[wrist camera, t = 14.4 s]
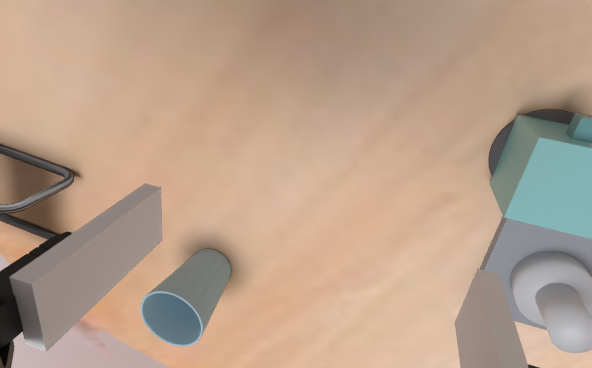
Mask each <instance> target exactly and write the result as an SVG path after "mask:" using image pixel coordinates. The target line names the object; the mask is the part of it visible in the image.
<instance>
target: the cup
mask: <svg viewBox="0 0 592 368" xmlns="http://www.w3.org/2000/svg"><path fill="white" fill-rule="evenodd" d="M230 276H231V266H230V263H229V261H228V260H227V259H226V257H225V256H224V255H223V254H221V253H220V252H218V251H216V250H213V249H203V250H200V251H198V252H197V253H196V254H195V255H193V256H192V257H191V258H190V259H189V260H187V261H186V262H185V263H184V264H183V265H182V266H180V267H179V268H178V269H177V270H176V271H175V272H173V273H172V274H171V275H170V276H169V277H168V278H166V279H165V280H164V281H163V282H162V283H160V284H159V285H158V286H157V287H156V288H154V289H153V290H152V291H151V292H150V293H148V294H147V295H146V296H145V297H144V299H143V300H142V303H141V315H142V318H143V321H144V322H145V324H146V326H147V327H148V328H149V330H150V331H151V332H152V333H153V334H154V335H156V336H157V337H158V338H160V339H161V340H163V341H165V342H167V343H169V344H172V345H176V346H190V345H193V344H195V343H196V342H198V341H199V339H200V338H201V336H202V334H203V332H204V330H205V328H206V326H207V324H208V322H209V320H210V317H211V315H212V313H213V311H214V309H215V307H216V305H217V303H218V301H219V299H220V297H221V295H222V293H223V291H224V289H225V287H226V284H227V282H228V280H229V278H230Z"/></svg>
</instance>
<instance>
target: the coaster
mask: <svg viewBox="0 0 592 368" xmlns="http://www.w3.org/2000/svg"><path fill="white" fill-rule="evenodd" d="M523 116H528V117H533V118H538V119H543V120H548V121H553V122H558V123H563V124H568V125H570V123H571V121H572V118H573V116H574V114H573V113H570V112H567V111H563V110H556V109H547V110H539V111H534V112H531V113H528V114H525V115H523ZM515 120H516V119H515ZM515 120H513V121H512V122H511V123H509V124H508V125H507V126H506V127H505V128H503V129H502V131H501V132H500V133H499V134H498V135H497V137H496V138H495V140H494V142H493V144H492V146H491V149H490V153H489V168H490V172H491V175H492V177H493V174H494V172H495V169H496V167H497V164H498V162H499V159H500V157H501V154H502V152H503V150H504V147H505V145H506V142H507V140H508V137H509V135H510V132H511V130H512V127H513V125H514V122H515Z"/></svg>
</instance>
